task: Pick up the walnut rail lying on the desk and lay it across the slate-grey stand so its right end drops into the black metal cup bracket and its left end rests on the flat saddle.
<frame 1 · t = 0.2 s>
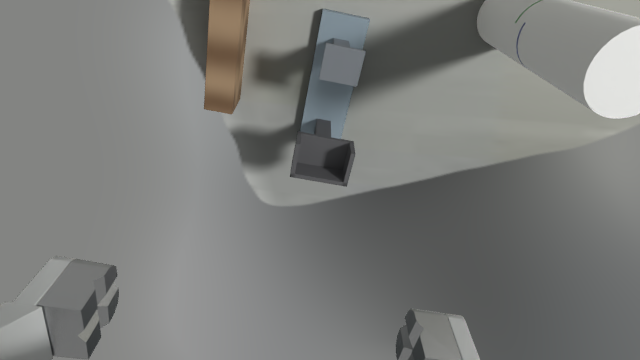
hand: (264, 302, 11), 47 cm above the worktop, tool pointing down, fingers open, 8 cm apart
rail: (231, 42, 54), on the worktop
cylindrical container: (504, 16, 52), on the worktop
stand: (331, 81, 56), on the worktop
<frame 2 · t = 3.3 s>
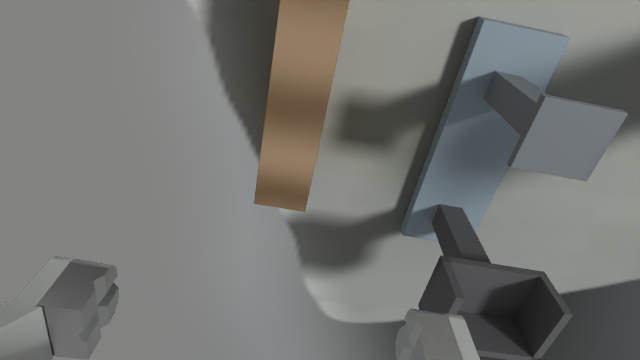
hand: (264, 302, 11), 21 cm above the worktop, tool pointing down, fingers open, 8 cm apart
rail: (301, 78, 30), on the worktop
stand: (470, 143, 32), on the worktop
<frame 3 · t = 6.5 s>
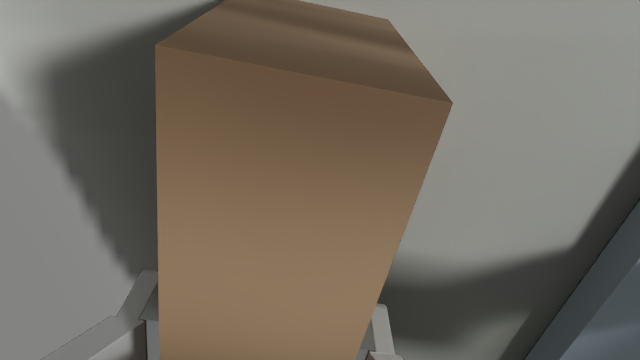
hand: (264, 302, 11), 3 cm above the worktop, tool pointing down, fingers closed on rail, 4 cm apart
rail: (275, 238, 14), on the worktop, touching gripper
stand: (614, 342, 16), on the worktop
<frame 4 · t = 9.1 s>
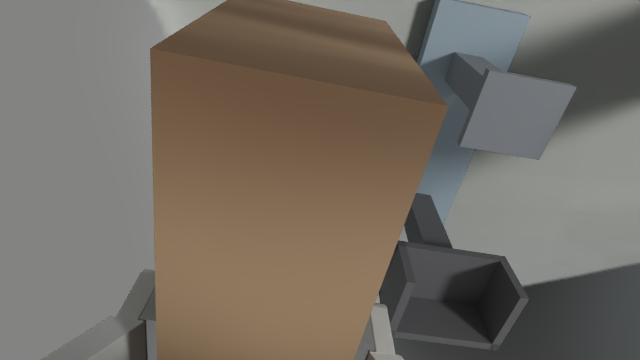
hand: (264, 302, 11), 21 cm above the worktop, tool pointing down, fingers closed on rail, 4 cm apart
rail: (274, 240, 14), point 18 cm above the worktop, touching gripper
stand: (436, 128, 31), on the worktop
when the fingers open (14 cm above the worktop, at t = 11.3 s): rail stays where it is, resting on stand.
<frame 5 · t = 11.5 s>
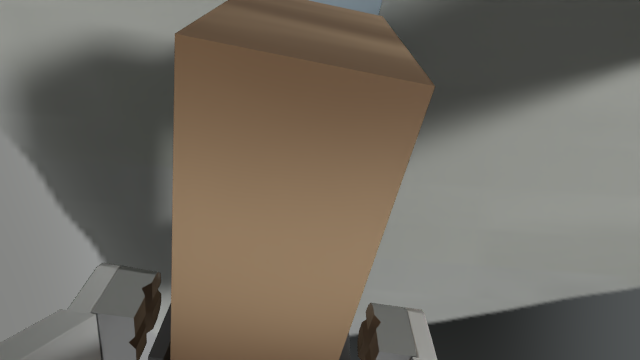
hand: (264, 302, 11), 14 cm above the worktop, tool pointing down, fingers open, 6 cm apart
rail: (276, 225, 14), point 10 cm above the worktop, touching stand
stand: (295, 118, 23), on the worktop
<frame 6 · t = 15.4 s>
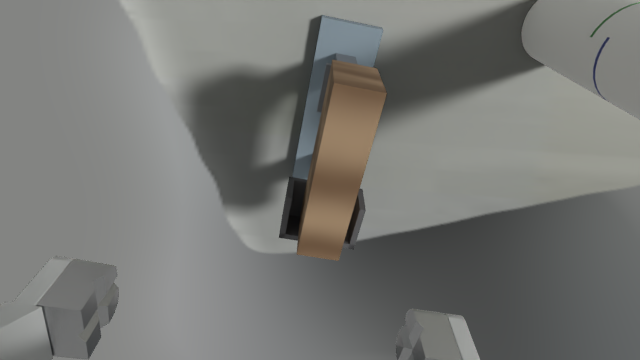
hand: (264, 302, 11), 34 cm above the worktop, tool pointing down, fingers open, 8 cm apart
rail: (334, 147, 36), point 10 cm above the worktop, touching stand
cylindrical container: (557, 25, 40), on the worktop
stand: (333, 107, 44), on the worktop
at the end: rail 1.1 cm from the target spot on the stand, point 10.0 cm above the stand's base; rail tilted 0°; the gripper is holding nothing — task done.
